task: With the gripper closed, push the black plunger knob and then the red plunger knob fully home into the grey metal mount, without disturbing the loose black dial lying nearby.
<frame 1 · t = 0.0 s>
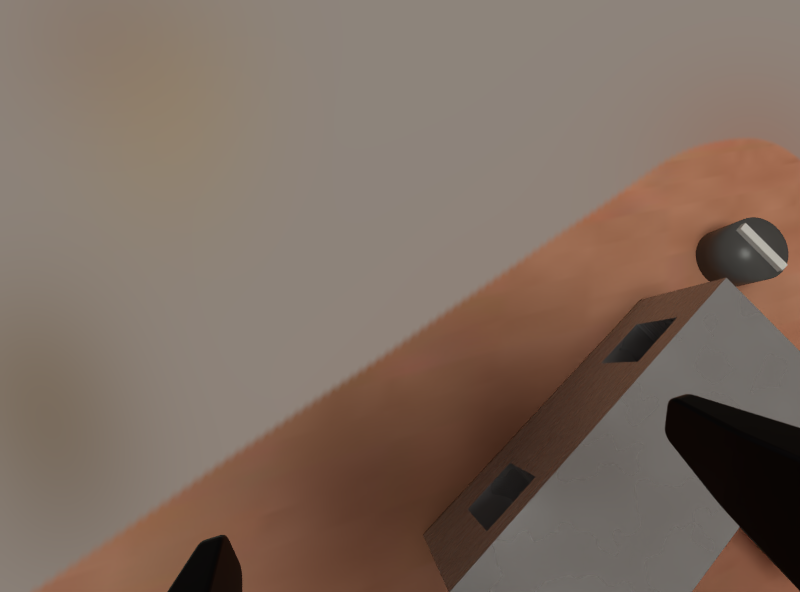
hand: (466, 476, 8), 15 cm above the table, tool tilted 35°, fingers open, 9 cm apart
dial: (722, 259, 27), on the table
mount: (585, 456, 24), on the table
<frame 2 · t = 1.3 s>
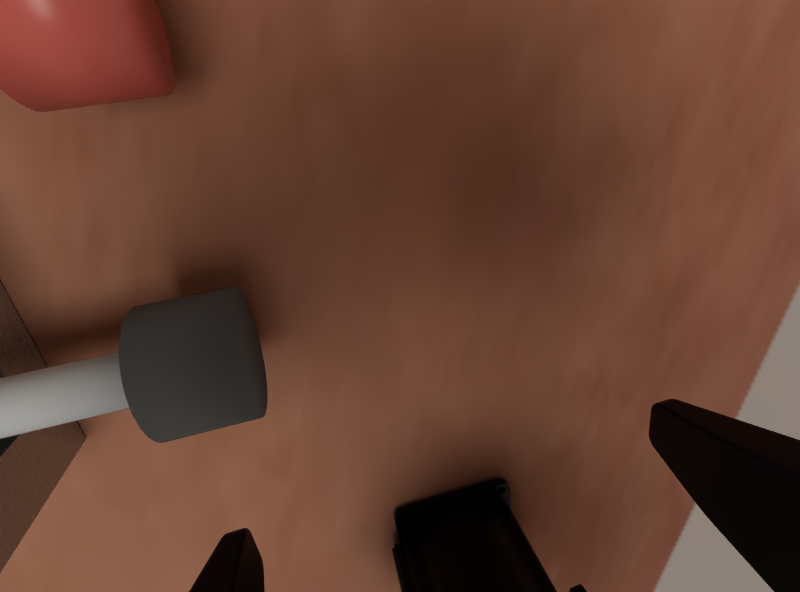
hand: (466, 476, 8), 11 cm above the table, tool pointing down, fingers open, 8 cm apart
black knob: (53, 396, 14), point 4 cm above the table, slide at 0.0 cm
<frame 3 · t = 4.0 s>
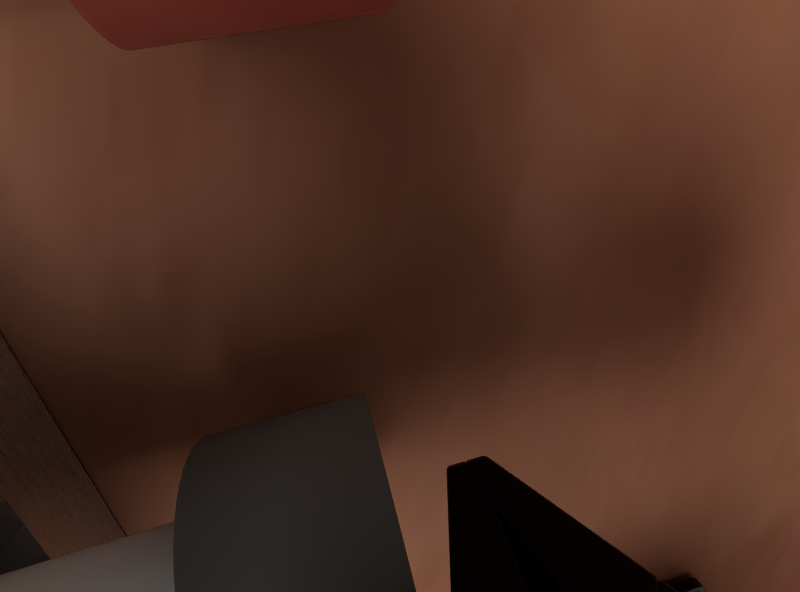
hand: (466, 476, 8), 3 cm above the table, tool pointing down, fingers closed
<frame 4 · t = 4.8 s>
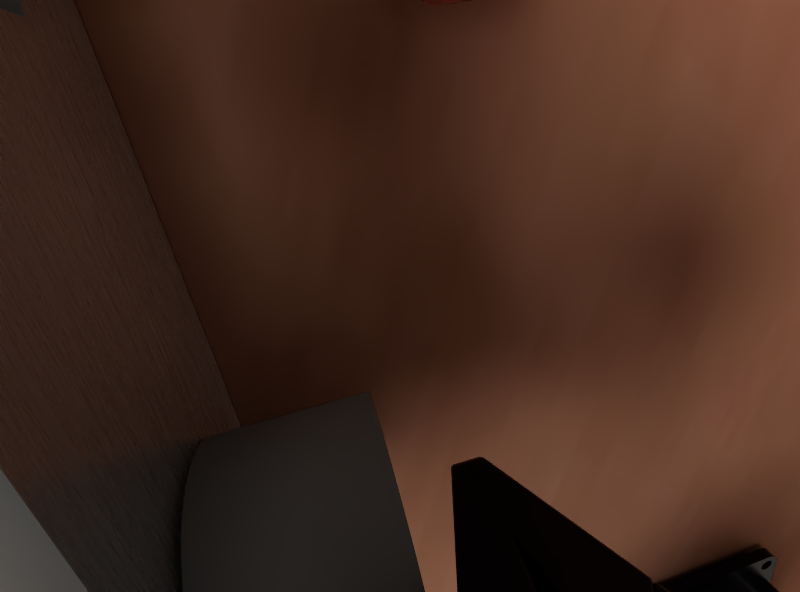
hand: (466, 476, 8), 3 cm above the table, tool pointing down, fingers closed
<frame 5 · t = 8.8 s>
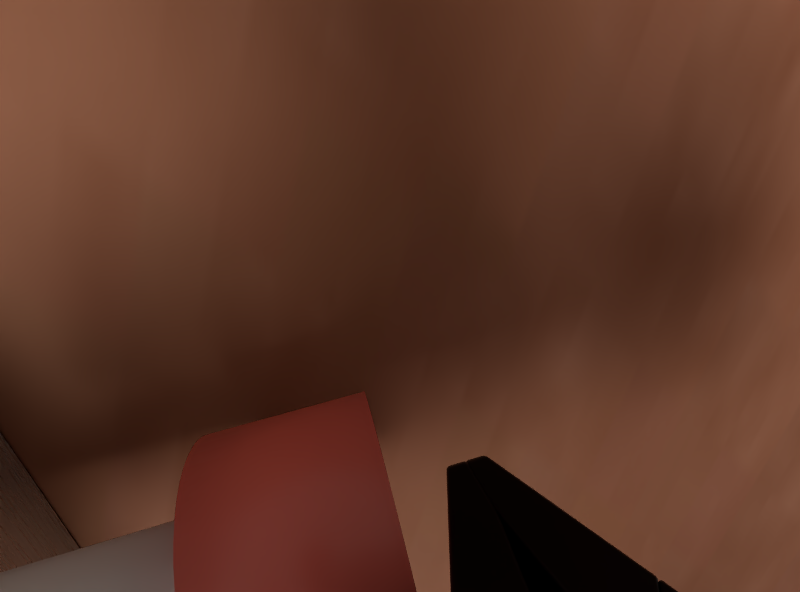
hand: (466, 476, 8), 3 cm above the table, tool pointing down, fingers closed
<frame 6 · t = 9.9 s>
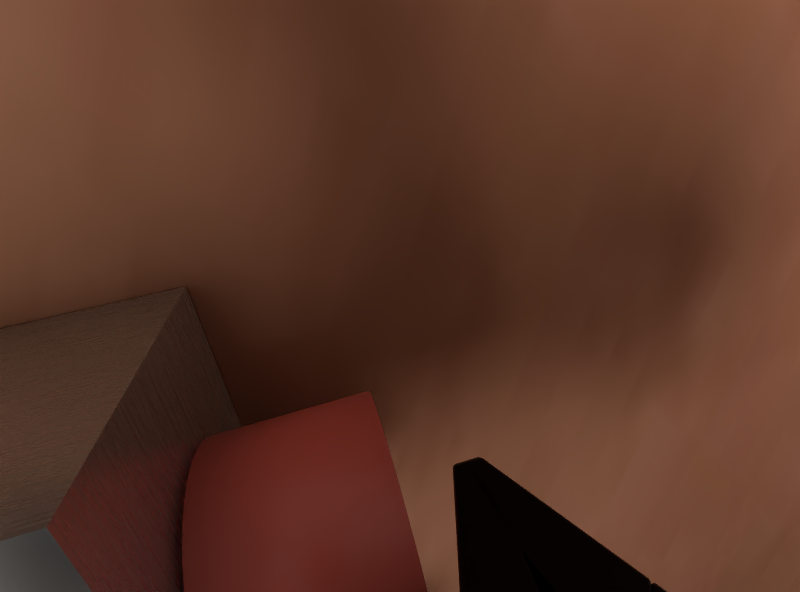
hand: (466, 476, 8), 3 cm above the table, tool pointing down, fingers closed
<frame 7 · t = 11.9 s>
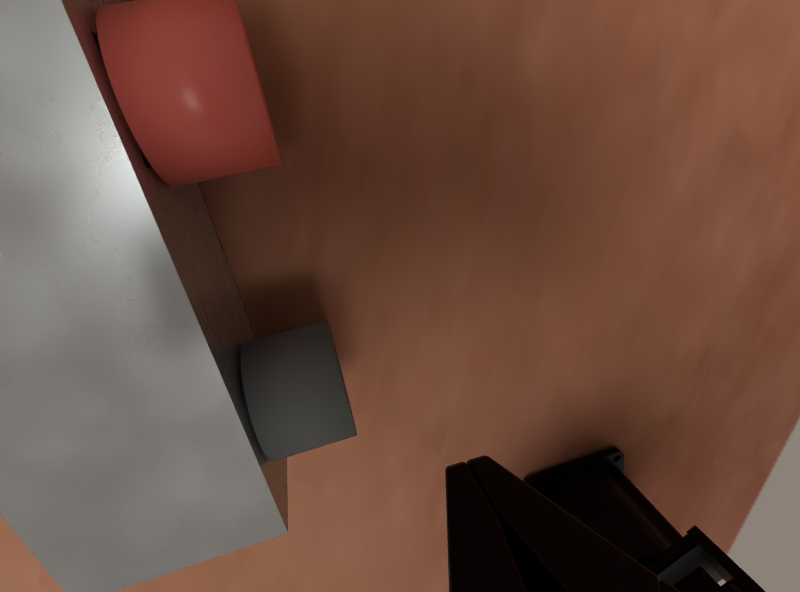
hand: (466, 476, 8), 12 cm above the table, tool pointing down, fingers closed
red knob: (23, 125, 11), point 4 cm above the table, slide at 4.8 cm
black knob: (175, 424, 15), point 3 cm above the table, slide at 4.8 cm
mount: (125, 267, 16), on the table
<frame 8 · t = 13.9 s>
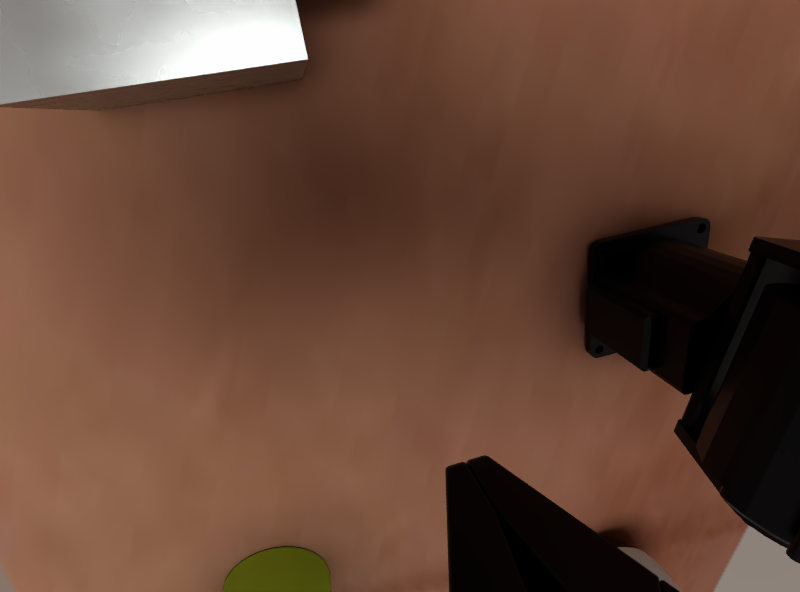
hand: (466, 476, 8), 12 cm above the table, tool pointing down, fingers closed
soap dispenser: (285, 576, 25), on the table
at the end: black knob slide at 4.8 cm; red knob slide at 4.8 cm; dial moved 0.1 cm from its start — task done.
